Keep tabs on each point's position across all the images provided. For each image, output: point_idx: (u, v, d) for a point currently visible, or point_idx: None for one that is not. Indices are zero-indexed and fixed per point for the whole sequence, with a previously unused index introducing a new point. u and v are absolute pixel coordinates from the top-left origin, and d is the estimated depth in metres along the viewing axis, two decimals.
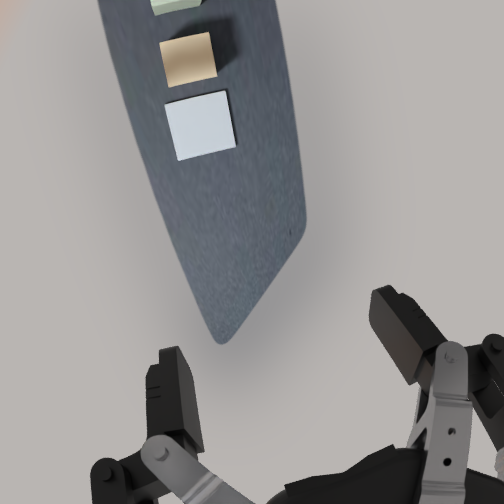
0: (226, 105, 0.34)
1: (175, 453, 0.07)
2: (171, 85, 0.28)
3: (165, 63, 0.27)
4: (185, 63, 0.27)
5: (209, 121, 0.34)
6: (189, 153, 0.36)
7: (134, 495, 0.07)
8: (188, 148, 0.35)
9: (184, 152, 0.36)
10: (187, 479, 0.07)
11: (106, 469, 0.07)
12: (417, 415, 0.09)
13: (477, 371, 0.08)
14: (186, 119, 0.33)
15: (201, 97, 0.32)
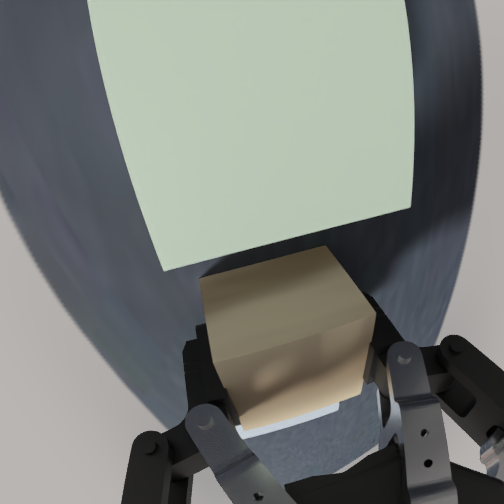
0: None
1: (221, 420, 0.08)
2: (250, 427, 0.11)
3: (235, 401, 0.10)
4: (293, 392, 0.10)
5: None
6: (261, 431, 0.19)
7: (171, 472, 0.08)
8: (260, 427, 0.19)
9: (253, 431, 0.19)
10: (224, 452, 0.07)
11: (151, 442, 0.08)
12: (382, 419, 0.09)
13: (434, 373, 0.09)
14: None
15: None
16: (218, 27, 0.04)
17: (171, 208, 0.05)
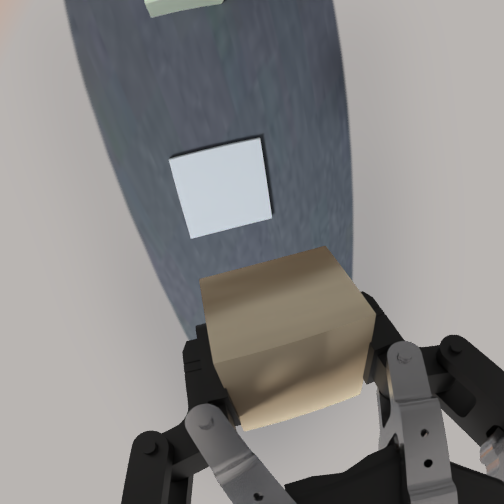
0: (261, 160, 0.24)
1: (221, 420, 0.08)
2: (251, 428, 0.11)
3: (235, 401, 0.10)
4: (293, 393, 0.10)
5: (236, 183, 0.25)
6: (206, 228, 0.26)
7: (171, 472, 0.08)
8: (205, 222, 0.26)
9: (200, 226, 0.26)
10: (224, 452, 0.07)
11: (151, 442, 0.08)
12: (382, 419, 0.09)
13: (434, 373, 0.09)
14: (202, 181, 0.24)
15: (224, 148, 0.23)
16: None
17: None
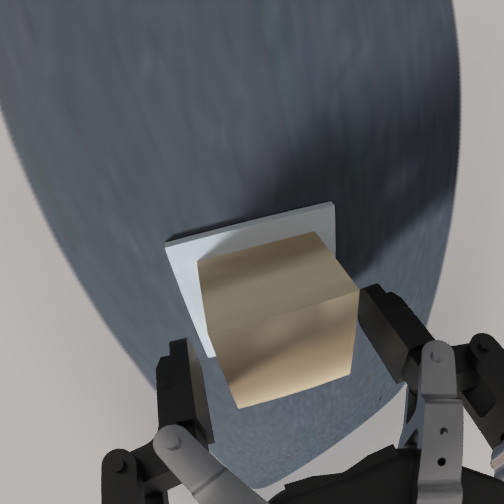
0: (331, 242, 0.14)
1: (188, 442, 0.08)
2: (244, 405, 0.12)
3: (229, 375, 0.11)
4: (284, 368, 0.11)
5: None
6: None
7: (144, 487, 0.07)
8: None
9: None
10: (197, 470, 0.07)
11: (118, 460, 0.07)
12: (406, 415, 0.09)
13: (464, 370, 0.08)
14: None
15: (270, 225, 0.13)
16: None
17: None
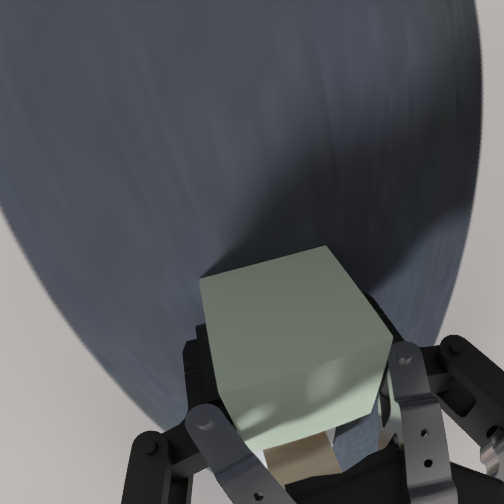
0: (333, 429, 0.22)
1: (221, 420, 0.08)
2: None
3: None
4: None
5: None
6: None
7: (171, 472, 0.08)
8: None
9: None
10: (224, 452, 0.07)
11: (151, 442, 0.08)
12: (382, 419, 0.09)
13: (434, 373, 0.09)
14: None
15: None
16: (287, 398, 0.09)
17: (257, 440, 0.10)
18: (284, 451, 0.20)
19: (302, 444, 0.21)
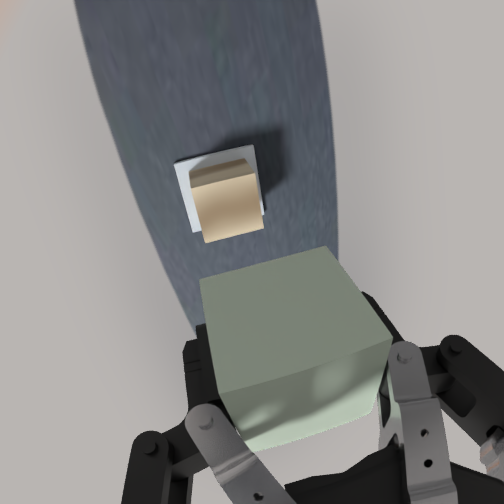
0: (254, 164, 0.28)
1: (221, 420, 0.08)
2: (208, 240, 0.26)
3: (200, 215, 0.25)
4: (225, 214, 0.25)
5: None
6: None
7: (171, 472, 0.08)
8: None
9: None
10: (224, 452, 0.07)
11: (151, 442, 0.08)
12: (382, 419, 0.09)
13: (433, 372, 0.09)
14: None
15: (222, 154, 0.26)
16: (286, 399, 0.09)
17: (257, 440, 0.10)
18: (206, 169, 0.26)
19: (223, 165, 0.26)
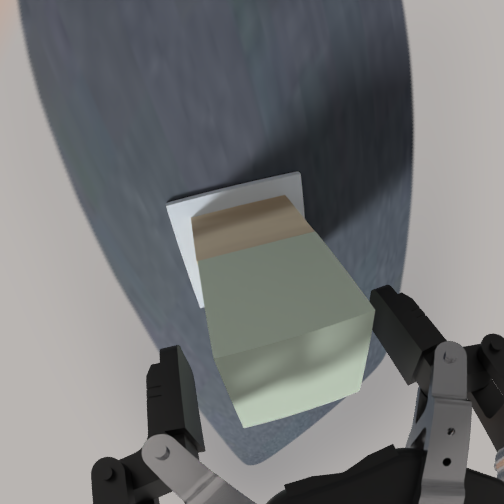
0: (300, 204, 0.17)
1: (176, 452, 0.07)
2: None
3: None
4: None
5: None
6: None
7: (135, 494, 0.07)
8: None
9: None
10: (188, 478, 0.07)
11: (107, 468, 0.07)
12: (416, 415, 0.09)
13: (476, 371, 0.08)
14: None
15: (248, 188, 0.16)
16: (277, 368, 0.10)
17: (250, 414, 0.11)
18: (222, 216, 0.16)
19: (250, 208, 0.16)
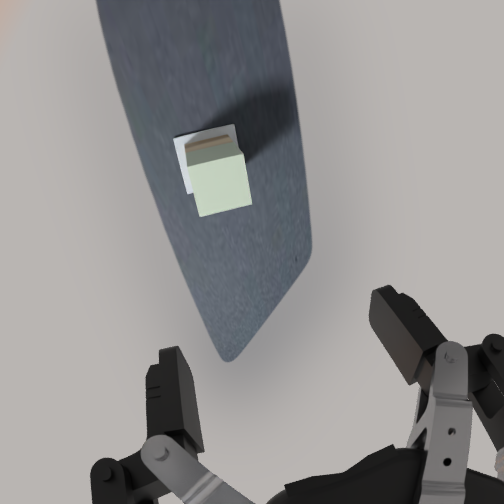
0: (235, 139, 0.35)
1: (175, 453, 0.07)
2: None
3: None
4: None
5: None
6: None
7: (134, 495, 0.07)
8: None
9: None
10: (187, 479, 0.07)
11: (106, 469, 0.07)
12: (417, 415, 0.09)
13: (477, 371, 0.08)
14: None
15: (210, 131, 0.34)
16: (209, 175, 0.27)
17: (201, 205, 0.29)
18: (198, 142, 0.33)
19: (210, 139, 0.34)
